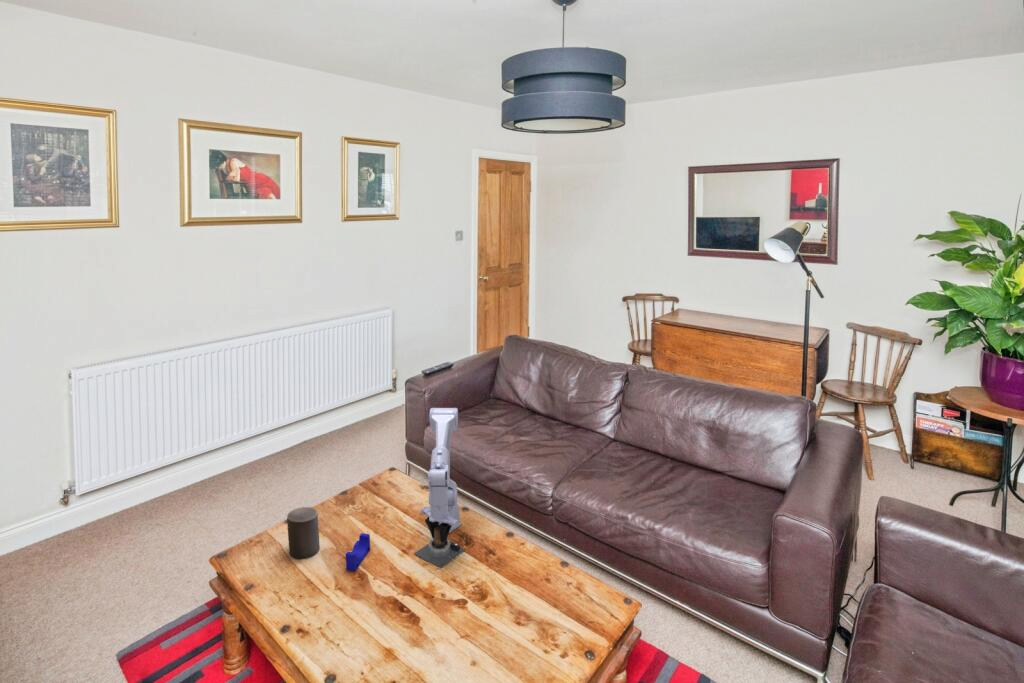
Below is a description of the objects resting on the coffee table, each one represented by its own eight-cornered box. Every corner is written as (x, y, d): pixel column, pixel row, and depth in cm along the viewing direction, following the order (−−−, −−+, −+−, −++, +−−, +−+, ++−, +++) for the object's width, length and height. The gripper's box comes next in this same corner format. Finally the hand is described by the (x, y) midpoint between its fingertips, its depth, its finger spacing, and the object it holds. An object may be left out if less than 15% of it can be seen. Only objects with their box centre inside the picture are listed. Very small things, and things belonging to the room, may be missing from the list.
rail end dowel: (439, 539, 199) (439, 524, 198) (446, 543, 197) (446, 527, 195) (431, 544, 196) (431, 528, 195) (439, 548, 194) (438, 532, 193)
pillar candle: (291, 562, 191) (288, 521, 188) (287, 546, 200) (284, 506, 196) (322, 554, 196) (320, 514, 192) (317, 539, 204) (314, 500, 200)
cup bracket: (438, 538, 206) (438, 529, 205) (464, 550, 199) (464, 541, 198) (414, 554, 196) (413, 545, 195) (441, 568, 190) (440, 558, 189)
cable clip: (357, 548, 200) (356, 532, 198) (370, 549, 199) (369, 534, 197) (342, 570, 188) (341, 553, 187) (355, 571, 187) (354, 555, 186)
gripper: (414, 500, 194) (415, 537, 197) (447, 514, 186) (447, 552, 189) (429, 492, 199) (429, 527, 203) (461, 505, 191) (462, 542, 195)
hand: (439, 539), depth 196 cm, fingers closed on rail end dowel, 3 cm apart
